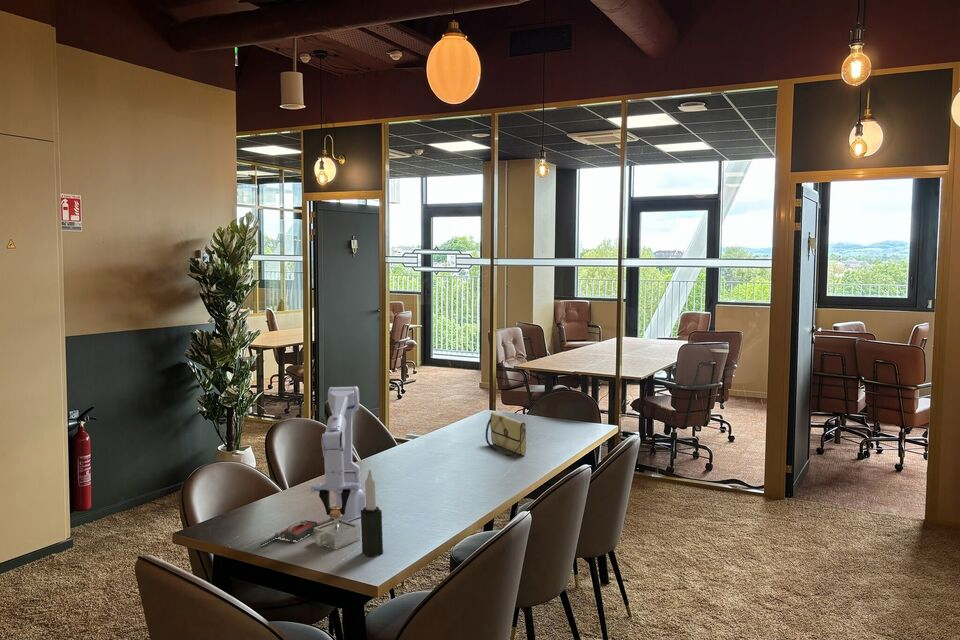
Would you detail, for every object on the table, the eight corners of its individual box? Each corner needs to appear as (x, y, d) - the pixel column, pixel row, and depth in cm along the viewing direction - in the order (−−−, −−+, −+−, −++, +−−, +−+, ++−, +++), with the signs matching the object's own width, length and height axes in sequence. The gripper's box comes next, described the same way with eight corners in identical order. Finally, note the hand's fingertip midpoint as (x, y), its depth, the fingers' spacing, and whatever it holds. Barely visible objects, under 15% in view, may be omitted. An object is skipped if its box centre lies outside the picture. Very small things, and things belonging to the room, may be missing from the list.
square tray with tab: (339, 532, 234) (338, 518, 234) (360, 539, 228) (359, 525, 227) (308, 544, 225) (307, 529, 224) (329, 551, 218) (329, 537, 218)
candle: (368, 557, 213) (365, 473, 211) (360, 552, 217) (357, 469, 216) (384, 553, 216) (381, 469, 214) (376, 548, 220) (373, 466, 219)
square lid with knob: (338, 524, 232) (337, 502, 232) (354, 529, 227) (354, 507, 227) (318, 531, 226) (317, 509, 226) (335, 536, 221) (334, 514, 221)
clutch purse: (481, 445, 343) (481, 413, 342) (494, 443, 346) (494, 411, 345) (515, 459, 317) (514, 424, 316) (529, 456, 320) (528, 422, 319)
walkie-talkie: (299, 527, 241) (257, 549, 223) (298, 513, 241) (257, 534, 223) (321, 530, 238) (281, 553, 219) (321, 516, 237) (280, 538, 219)
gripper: (307, 474, 221) (309, 519, 222) (356, 473, 222) (358, 517, 223) (312, 468, 228) (314, 511, 229) (359, 466, 229) (361, 509, 230)
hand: (336, 513), depth 226 cm, fingers closed on square lid with knob, 4 cm apart
